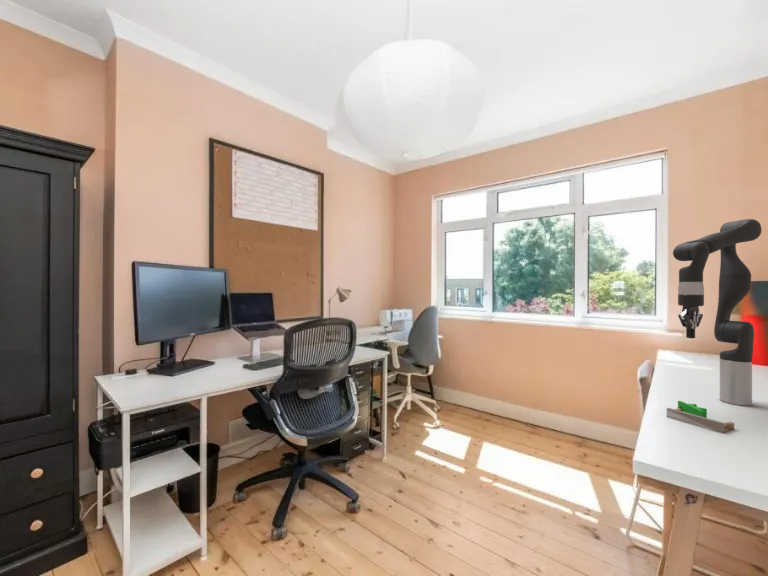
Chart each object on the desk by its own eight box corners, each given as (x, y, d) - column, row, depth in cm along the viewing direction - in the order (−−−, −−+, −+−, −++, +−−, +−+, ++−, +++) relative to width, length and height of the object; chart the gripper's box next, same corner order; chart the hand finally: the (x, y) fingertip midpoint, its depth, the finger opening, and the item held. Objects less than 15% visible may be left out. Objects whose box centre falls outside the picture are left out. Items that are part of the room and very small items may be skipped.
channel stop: (679, 413, 125) (679, 405, 125) (734, 428, 111) (734, 419, 111) (666, 416, 121) (666, 408, 121) (722, 432, 108) (722, 423, 108)
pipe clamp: (713, 425, 114) (714, 411, 114) (701, 424, 115) (701, 411, 115) (688, 413, 126) (688, 400, 126) (677, 412, 126) (677, 400, 126)
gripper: (688, 293, 138) (688, 336, 138) (669, 293, 133) (669, 337, 132) (711, 293, 131) (711, 338, 131) (693, 293, 126) (693, 340, 126)
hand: (690, 338), depth 132 cm, fingers closed
